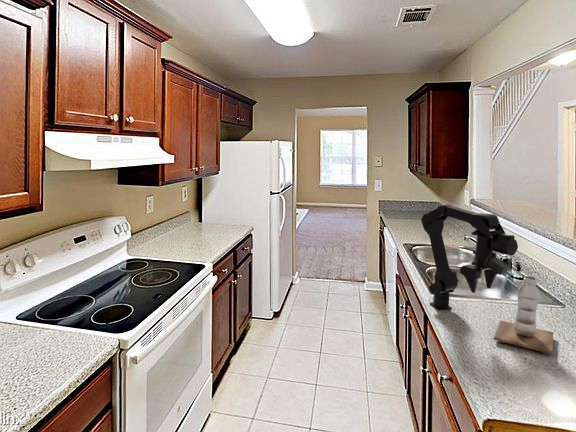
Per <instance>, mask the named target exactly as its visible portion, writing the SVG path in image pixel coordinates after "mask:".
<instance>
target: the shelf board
mask: <svg viewBox="0 0 576 432" xmlns="http://www.w3.org/2000/svg"><path fill="white" fill-rule="evenodd" d="M513 325H514V322H510V321H506V320H500V321H499V324H498V326H497V329H496V331H495V334H494V336H493V340H496V341H498V343H499V344H504V343H506V344H511V345H514V346H517V347H522V348H525V349H526V348H527V349H529V350H535V351H538V352H540V353H541V354H543V355H548V354H551V355H553V347H554V345H553V343H554V331H551V330H550V331H549V330H544V329H541V328H537V327H536V332H535V334H534V335H533V336H531V337H526V336H522V335H519V334H517V333H516V332H515V330H514V326H513Z"/></svg>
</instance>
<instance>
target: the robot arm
mask: <svg viewBox="0 0 576 432" xmlns="http://www.w3.org/2000/svg"><path fill="white" fill-rule="evenodd" d="M449 217H450V218H452V219H454V220H458V221H461V222H464V223H467V224H469V225H471V227H472V228H474V229H475V230H474V231H472V232H471V235H472V236H476V241H475V242H476V243H475V245H476V246H475V250H473V251H472V254H473V255H475V257H474V261H471V264H464V265H462V266H461V267H459V273H460V274H461V275H462V276H464V278H465V281H466V282H467V284H468V287H469V289H470V291H471V293H473V294H475V293H476V289H477V285H478V281H479V280H480V279H481V278H482V275H483V273H484V281H485V285H486V288H487V289H491V288H492V285H493V283H494V281H495V279H496V277H497V275H499V276H502V275H503V274H507V272H508V271H509V270H510V269H511V268H512V264H511V263H512V262H511V259H509V258H508V257H506V258H498V257H497V254H502V255H507V256H510V257H511V256H514V255H515V254H516V253H517V251H518V248H519V245H518V241H517V239H515V238H516V237H515V235H513V234H506V232H505V230H504V228H503V226H502V225H501V222H500V219H499V218H498V215H496V214H495V213H483V212H482V213H481V212H473V211H470V210H467V209H464V208H460V207H457V206H453V205H451V204H441V205H439V206H437V208H435V209H433V210H431V211H429V212H427V213H424V214H423V215H422V217H420V218H421V224H422V227H423V230H424V231H425V232H426V234H427V235H428V237H429V241H430V246H431V250H432V255H433V259H434V264H435V269H436V271H435V274H434V277H433V279H434V280H433V281H434V282H433V283H432V284H430V286H429V287H428V290H429V292H430V293H431V294H433V295H432V296H433V298H432V299H433V300H432V301H431V302H429V305H431V306H432V307H433V308H434V309H435V310H451V309H452V308H453V307H452V306H451V305H450V293H454V291H455V289H457V287H458V285H459V284H458V282H459V279H458V276H457V271H453V270H452V269H451V268H450V264H449V260H448V256H447V251H446V246H445V242H444V237H443V231H444V227H445V224H444V223H445V221H446V220H448V218H449Z"/></svg>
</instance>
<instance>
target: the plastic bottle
mask: <svg viewBox="0 0 576 432" xmlns="http://www.w3.org/2000/svg"><path fill="white" fill-rule="evenodd" d="M522 282H523V284H521V286H520V287H519V288H518V289H517V311H516V314H515V315H516V316H515V319H514V322H513V323H514V325H513V326H514V330H515V332H516V333H517V334H519V335H522V336H526V337H531V336H533V335H534V334H535V332H536V328H537V324H536V323H537V321H536V319H537V316H536V315H537V309H538V305H539V301H540V298H541V292H540V290H539V289H538V287H537V284H538V283H537V282H538V281H537V278H536V277H534V276H530V275H529V276H528V275H525V276H523V281H522Z"/></svg>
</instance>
